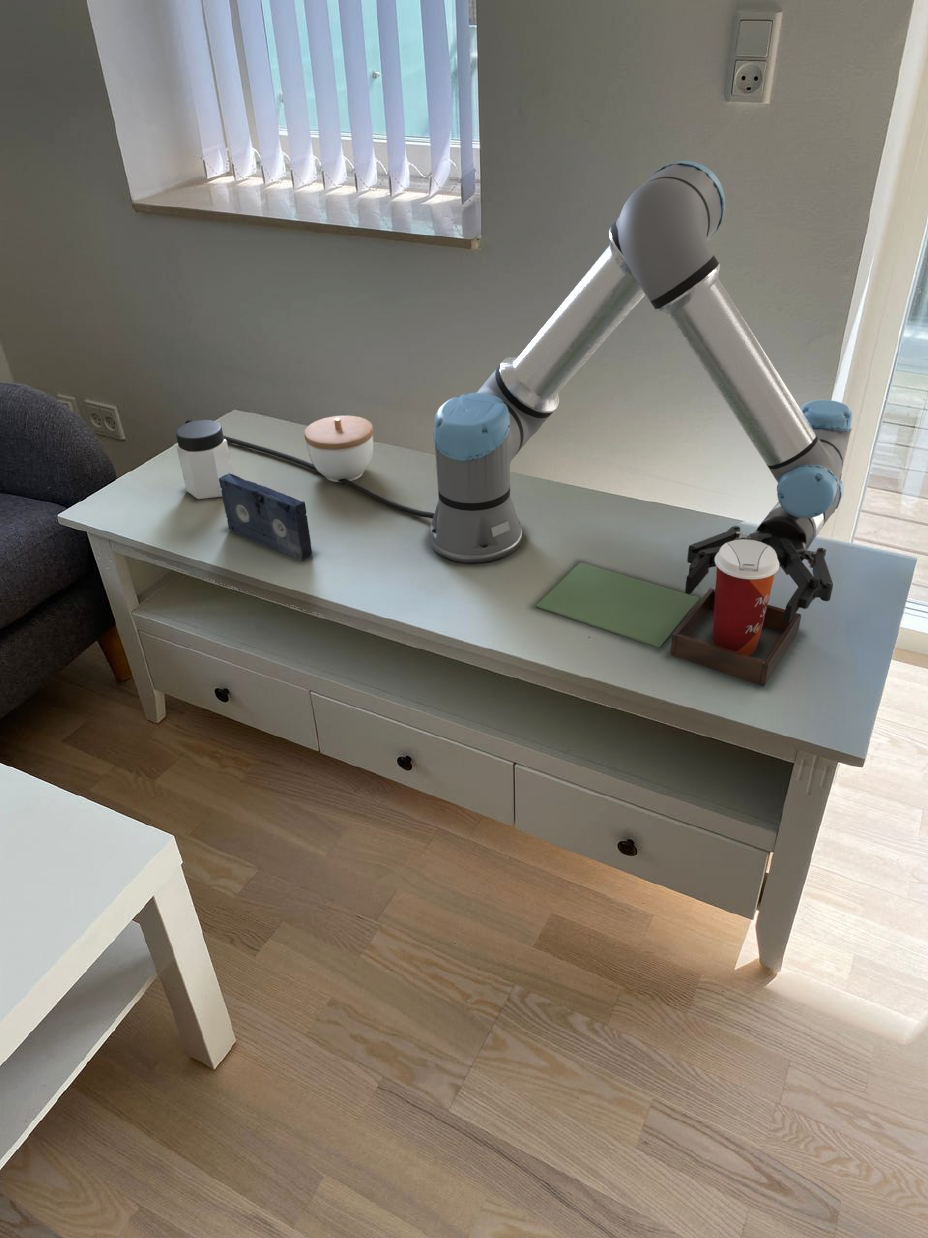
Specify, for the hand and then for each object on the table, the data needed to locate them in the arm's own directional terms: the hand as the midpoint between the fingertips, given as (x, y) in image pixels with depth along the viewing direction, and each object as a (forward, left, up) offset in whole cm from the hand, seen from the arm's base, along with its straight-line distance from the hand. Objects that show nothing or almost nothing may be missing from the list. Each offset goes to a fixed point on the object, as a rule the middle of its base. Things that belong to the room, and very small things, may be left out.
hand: (736, 599), depth 129 cm
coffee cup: (0, +2, -9) cm, 9 cm away
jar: (-100, -1, -9) cm, 101 cm away
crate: (0, +2, -9) cm, 9 cm away
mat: (-19, +3, -9) cm, 21 cm away
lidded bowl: (-82, +16, -9) cm, 84 cm away
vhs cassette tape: (-77, -10, -9) cm, 78 cm away
